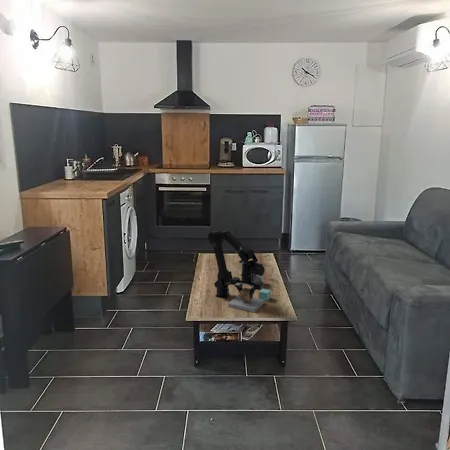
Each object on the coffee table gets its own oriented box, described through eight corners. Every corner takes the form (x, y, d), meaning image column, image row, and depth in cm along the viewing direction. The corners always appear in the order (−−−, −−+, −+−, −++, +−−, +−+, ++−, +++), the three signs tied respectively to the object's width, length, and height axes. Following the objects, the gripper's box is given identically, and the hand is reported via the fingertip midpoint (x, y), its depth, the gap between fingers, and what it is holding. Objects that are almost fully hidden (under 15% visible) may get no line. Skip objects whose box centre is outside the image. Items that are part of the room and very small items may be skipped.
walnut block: (240, 299, 248) (240, 290, 247) (244, 296, 253) (244, 287, 252) (248, 301, 246) (249, 292, 244) (252, 298, 251) (253, 289, 249)
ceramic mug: (264, 282, 282) (264, 271, 280) (261, 287, 274) (261, 276, 272) (247, 281, 285) (247, 270, 283) (245, 286, 277) (245, 274, 275)
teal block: (259, 299, 257) (259, 291, 256) (262, 296, 262) (262, 288, 260) (267, 301, 255) (267, 293, 254) (270, 298, 259) (270, 290, 258)
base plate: (228, 306, 248) (228, 303, 247) (239, 297, 260) (239, 294, 259) (254, 312, 241) (254, 309, 240) (264, 302, 253) (264, 299, 252)
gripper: (268, 269, 248) (267, 295, 252) (238, 264, 256) (237, 289, 260) (260, 276, 238) (259, 302, 242) (229, 270, 247) (229, 296, 251)
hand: (246, 297), depth 249 cm, fingers closed on walnut block, 5 cm apart
